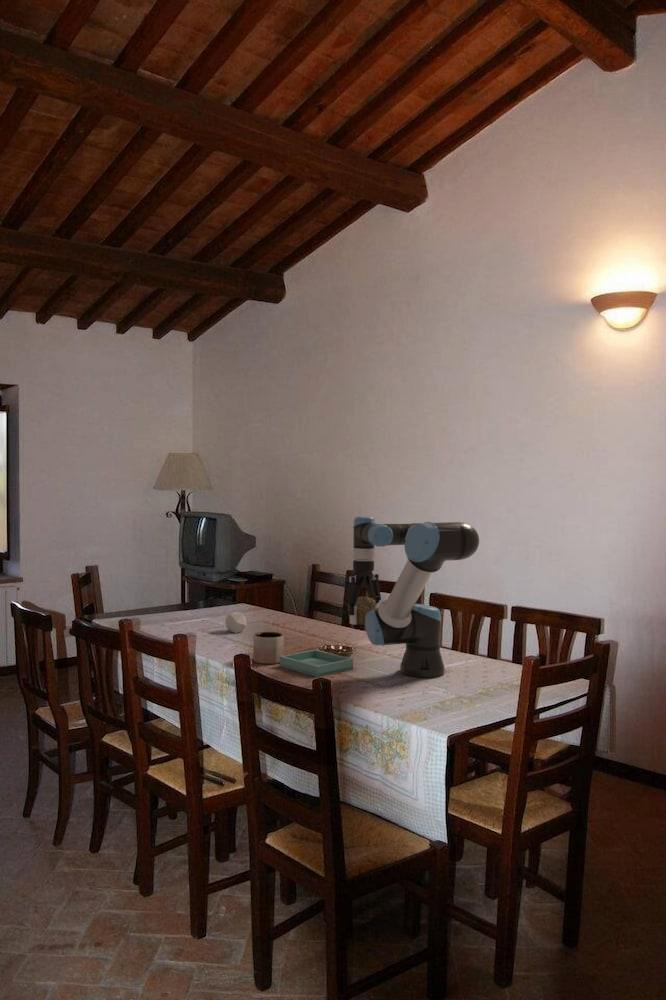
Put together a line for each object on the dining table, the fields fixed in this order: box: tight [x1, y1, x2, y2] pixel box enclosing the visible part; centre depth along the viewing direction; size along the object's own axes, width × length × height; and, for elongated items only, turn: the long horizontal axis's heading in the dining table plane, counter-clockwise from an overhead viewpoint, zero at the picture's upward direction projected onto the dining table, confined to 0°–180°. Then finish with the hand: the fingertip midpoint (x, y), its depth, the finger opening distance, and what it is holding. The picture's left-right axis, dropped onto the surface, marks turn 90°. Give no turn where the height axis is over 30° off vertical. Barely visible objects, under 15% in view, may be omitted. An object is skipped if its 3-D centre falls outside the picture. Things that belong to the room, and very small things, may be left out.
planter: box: [252, 631, 285, 665], centre depth 298 cm, size 11×11×10 cm
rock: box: [347, 595, 378, 626], centre depth 300 cm, size 11×12×10 cm
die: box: [224, 611, 247, 634], centre depth 347 cm, size 8×9×10 cm
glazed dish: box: [279, 649, 354, 678], centre depth 290 cm, size 19×17×4 cm
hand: (362, 622), depth 299 cm, fingers closed on rock, 9 cm apart
